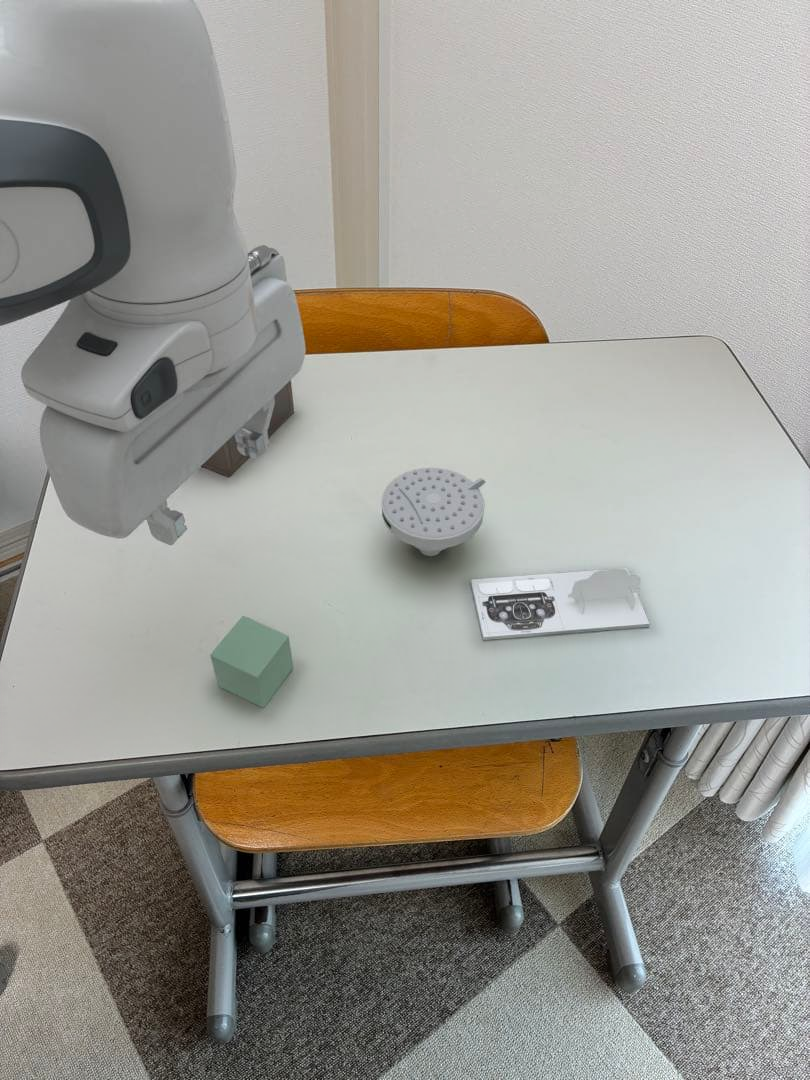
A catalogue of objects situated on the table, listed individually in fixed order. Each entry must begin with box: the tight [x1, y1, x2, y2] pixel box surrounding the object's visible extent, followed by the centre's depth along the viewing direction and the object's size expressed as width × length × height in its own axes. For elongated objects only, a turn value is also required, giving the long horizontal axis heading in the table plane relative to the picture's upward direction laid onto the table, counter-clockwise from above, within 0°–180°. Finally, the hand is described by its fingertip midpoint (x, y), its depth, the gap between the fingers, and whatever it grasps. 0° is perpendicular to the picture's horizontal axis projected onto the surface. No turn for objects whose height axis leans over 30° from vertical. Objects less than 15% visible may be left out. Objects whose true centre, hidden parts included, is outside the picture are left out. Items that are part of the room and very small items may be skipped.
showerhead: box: [381, 467, 486, 557], centre depth 75 cm, size 9×7×10 cm
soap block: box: [209, 615, 294, 709], centre depth 65 cm, size 4×4×4 cm
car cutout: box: [470, 567, 651, 641], centre depth 71 cm, size 15×7×4 cm, turn 96°
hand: (214, 491), depth 54 cm, fingers open, 8 cm apart
